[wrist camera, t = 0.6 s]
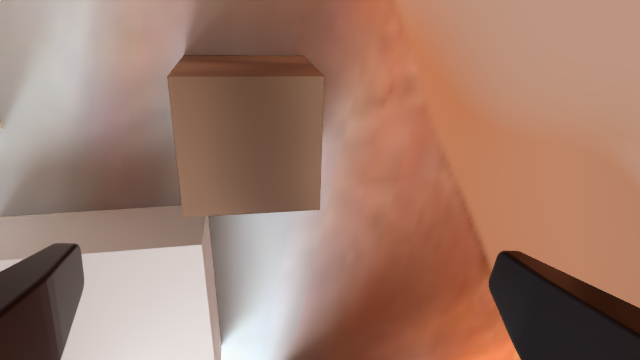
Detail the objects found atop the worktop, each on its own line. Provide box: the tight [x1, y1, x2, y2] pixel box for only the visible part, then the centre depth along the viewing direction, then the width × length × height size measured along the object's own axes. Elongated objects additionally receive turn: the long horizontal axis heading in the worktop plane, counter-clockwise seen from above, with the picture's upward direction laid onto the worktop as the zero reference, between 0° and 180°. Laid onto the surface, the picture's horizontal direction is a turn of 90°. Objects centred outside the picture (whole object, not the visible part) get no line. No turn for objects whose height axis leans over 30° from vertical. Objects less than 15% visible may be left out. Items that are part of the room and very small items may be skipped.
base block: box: [0, 205, 221, 360], centre depth 20 cm, size 9×9×4 cm
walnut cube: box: [167, 55, 324, 218], centre depth 17 cm, size 5×5×5 cm
